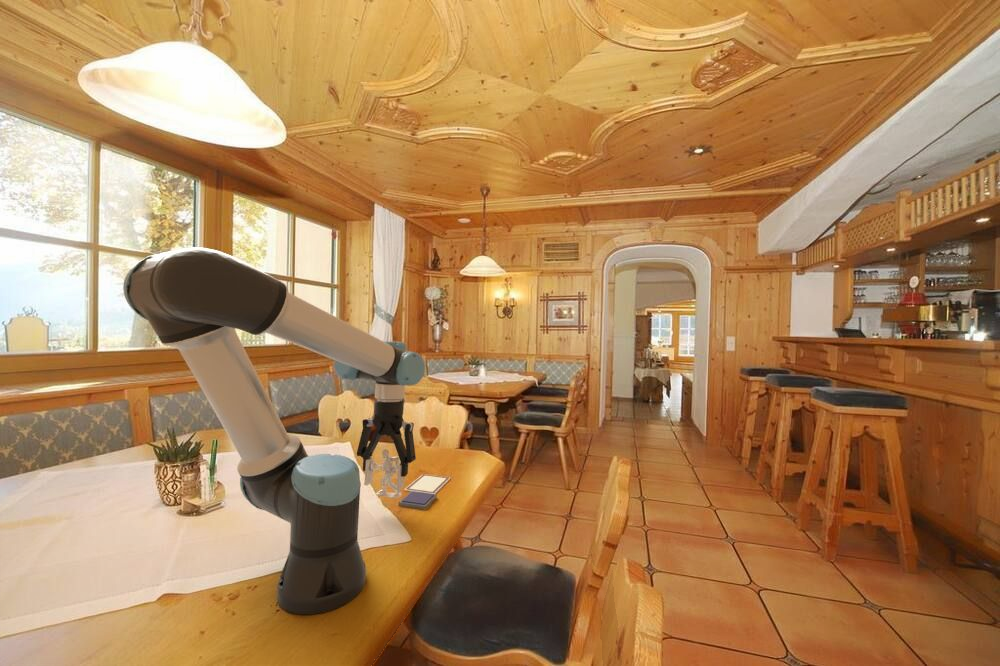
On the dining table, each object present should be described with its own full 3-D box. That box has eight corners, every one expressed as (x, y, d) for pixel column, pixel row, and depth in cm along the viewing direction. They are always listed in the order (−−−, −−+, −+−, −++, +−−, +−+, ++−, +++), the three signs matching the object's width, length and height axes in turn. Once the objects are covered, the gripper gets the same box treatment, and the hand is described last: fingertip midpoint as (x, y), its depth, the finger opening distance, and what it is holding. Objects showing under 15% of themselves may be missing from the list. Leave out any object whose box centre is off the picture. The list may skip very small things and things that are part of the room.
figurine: (399, 500, 101) (402, 453, 101) (364, 497, 101) (367, 450, 102) (404, 493, 106) (407, 448, 106) (371, 490, 106) (374, 445, 106)
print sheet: (434, 494, 118) (434, 493, 118) (403, 490, 120) (403, 489, 120) (450, 478, 131) (450, 477, 131) (422, 474, 133) (422, 473, 133)
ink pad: (425, 509, 108) (425, 505, 108) (398, 505, 109) (398, 501, 109) (436, 498, 115) (436, 493, 115) (411, 494, 117) (411, 490, 117)
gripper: (432, 401, 105) (427, 486, 105) (361, 394, 110) (356, 476, 110) (420, 405, 98) (415, 496, 98) (345, 397, 103) (339, 485, 102)
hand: (384, 485), depth 104 cm, fingers closed on figurine, 8 cm apart
